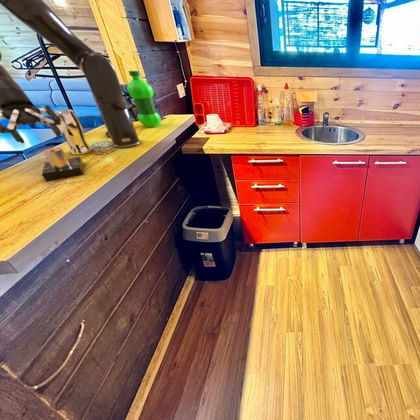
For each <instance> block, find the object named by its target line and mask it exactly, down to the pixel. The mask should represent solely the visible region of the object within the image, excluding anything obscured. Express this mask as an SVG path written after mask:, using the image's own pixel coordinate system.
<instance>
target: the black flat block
mask: <svg viewBox="0 0 420 420" xmlns="http://www.w3.org/2000/svg"><path fill="white" fill-rule="evenodd" d="M67 159H68V161H69V162H70V164H71V165H70V166H68V167H65V168H61V169H54V168H52V166H51V164H50V163H49V161H45V162H44V165H43V168H42V171H41V176H42V177H43V179H44V181H46V182H49V181H54V180H55V181H56V180H61V179H66V178H71V177H77V176H83V175H84V162H83V160H82V158H81V156H76V157H70V158H67Z"/></svg>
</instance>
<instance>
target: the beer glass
mask: <svg viewBox="0 0 420 420" xmlns="http://www.w3.org/2000/svg"><path fill="white" fill-rule="evenodd" d="M53 111H54V113H55V114H56V115H57V116H58V117H59V118H60V122H61V125H57V127H58V128H59V130H60V131H61V135H60V136H61V137H63V139H64V140H65V141H66V143H67V145H68V147H69V150H70V153H71V154H72V155H84V154H88V153H90V152H92V148H91V147H90V145H89V143H88V142H87V139H86V137H85V133H84V129H83V126H82V124H81V122H80V120H79V117H78V116H77V114H76V112H75V111H74V110H73V109H60V110H59V109H57V110H53Z"/></svg>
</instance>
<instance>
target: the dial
mask: <svg viewBox="0 0 420 420" xmlns="http://www.w3.org/2000/svg"><path fill="white" fill-rule="evenodd" d="M42 152H43V154H44V156H45V158H46V159H47V162H49V163H50V164H51V166H52V168H54V169H61V168H65V167H68V166H70V165H71V164H70V162H69V161H68V159H69V158H68V157H67V155H66V153H65V152H64V150H63V148H62V147H50V148H46V149H44V150H42Z"/></svg>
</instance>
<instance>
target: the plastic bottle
mask: <svg viewBox="0 0 420 420" xmlns="http://www.w3.org/2000/svg"><path fill="white" fill-rule="evenodd" d="M128 74H129V76H130V77H131V81H130V82H129V83H128V84H127V86H126V87H127V88H126V91H127V93H128V94H129V96H130V97H131V98H132V99H133V101H134V104H135V107H136V109H137V112H138V113H137V119H138V121H139V122H140V124H142V125H143V126H145V127H146V128H154V127H158V126H159V124H160V123H161V122H162V121H161V120H162V118H161V116H160V115H159V113H158V112H157V109H156V106H155V103H154V102H155V101H154V99H153V97H154V90H153V87H152V86H151V85H150V84H148V83H147V82H146V81H144V80H142V79H141V76H142V75H141V72H140V70H128Z"/></svg>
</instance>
